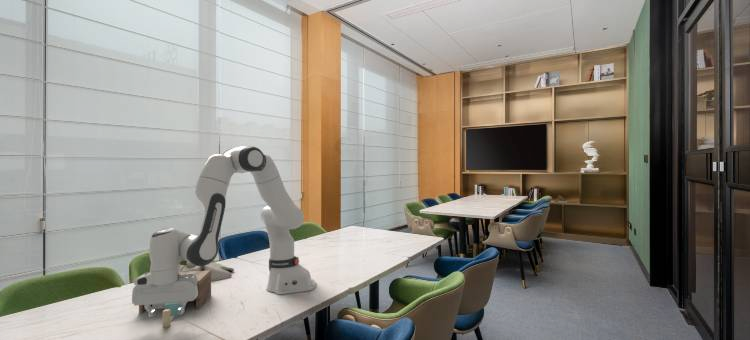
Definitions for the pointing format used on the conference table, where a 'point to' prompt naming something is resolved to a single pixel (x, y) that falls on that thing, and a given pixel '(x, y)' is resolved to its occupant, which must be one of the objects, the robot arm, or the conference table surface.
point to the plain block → (158, 306)
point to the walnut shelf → (202, 286)
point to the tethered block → (170, 313)
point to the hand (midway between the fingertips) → (166, 314)
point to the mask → (216, 269)
